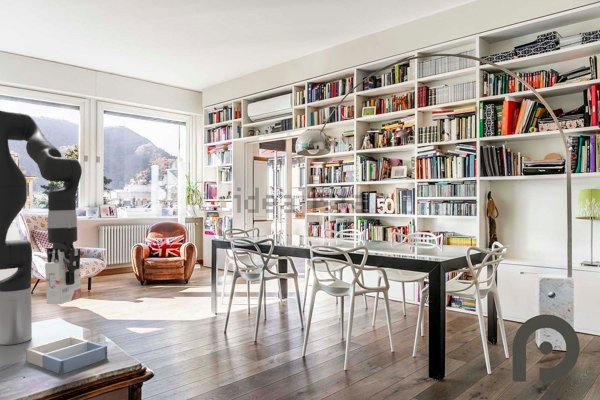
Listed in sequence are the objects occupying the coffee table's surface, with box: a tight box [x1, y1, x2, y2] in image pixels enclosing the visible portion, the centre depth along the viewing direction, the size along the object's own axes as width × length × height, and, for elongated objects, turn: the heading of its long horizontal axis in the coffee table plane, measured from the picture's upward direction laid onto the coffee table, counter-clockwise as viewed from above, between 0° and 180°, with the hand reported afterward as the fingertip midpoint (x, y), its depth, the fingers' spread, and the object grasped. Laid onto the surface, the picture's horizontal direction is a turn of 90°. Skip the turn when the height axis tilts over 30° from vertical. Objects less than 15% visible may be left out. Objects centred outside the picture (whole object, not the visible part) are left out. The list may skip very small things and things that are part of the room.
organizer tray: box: [25, 335, 108, 375], centre depth 126 cm, size 18×14×4 cm
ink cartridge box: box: [44, 252, 82, 305], centre depth 126 cm, size 9×5×15 cm, turn 168°
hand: (63, 283), depth 126 cm, fingers closed on ink cartridge box, 6 cm apart
